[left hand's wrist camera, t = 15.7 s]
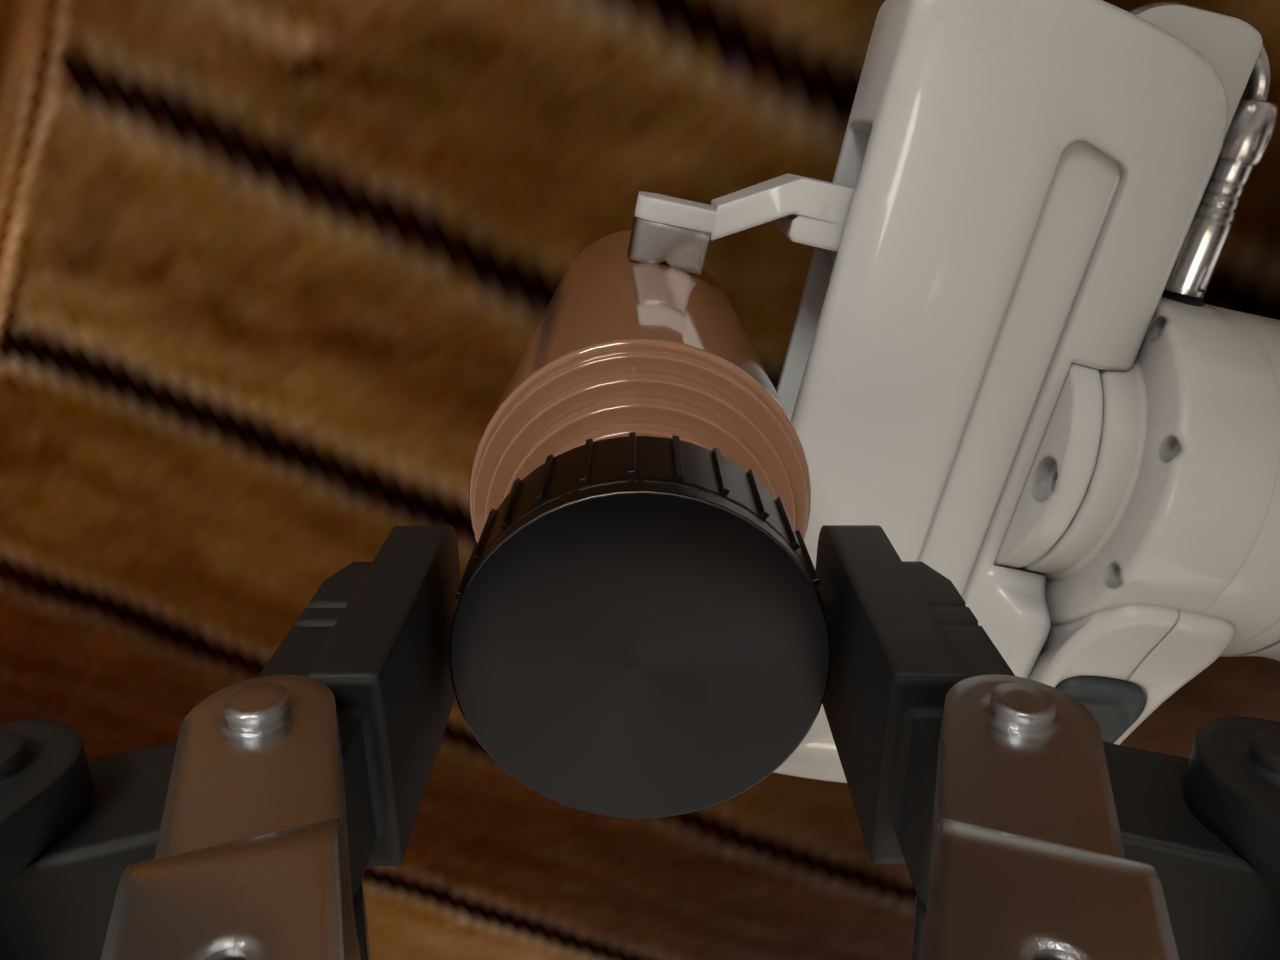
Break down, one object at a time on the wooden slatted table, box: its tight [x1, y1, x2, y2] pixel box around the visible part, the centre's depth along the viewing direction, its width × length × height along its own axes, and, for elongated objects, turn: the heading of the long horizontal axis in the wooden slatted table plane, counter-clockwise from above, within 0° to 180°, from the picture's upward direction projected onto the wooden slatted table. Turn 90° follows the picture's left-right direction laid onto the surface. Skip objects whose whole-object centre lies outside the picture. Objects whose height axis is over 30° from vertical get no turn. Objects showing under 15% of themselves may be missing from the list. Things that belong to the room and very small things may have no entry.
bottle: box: [469, 230, 811, 543], centre depth 20 cm, size 6×6×19 cm
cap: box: [449, 432, 832, 818], centre depth 11 cm, size 4×4×2 cm
